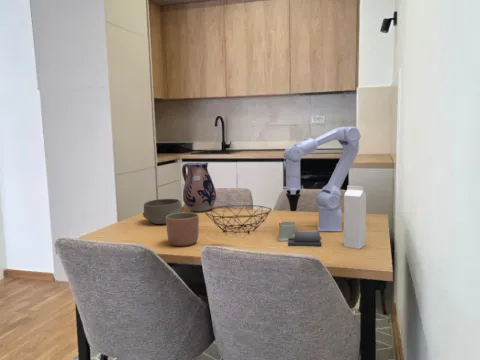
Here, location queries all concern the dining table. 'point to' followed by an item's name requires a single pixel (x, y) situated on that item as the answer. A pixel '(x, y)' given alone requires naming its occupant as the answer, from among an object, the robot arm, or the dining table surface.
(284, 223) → the white roller cradle
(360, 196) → the milk
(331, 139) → the robot arm
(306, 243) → the dark grey roller cradle
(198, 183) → the ceramic pitcher
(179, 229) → the planter
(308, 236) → the grey roller spool
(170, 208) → the bowl
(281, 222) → the long tan wooden plank
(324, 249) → the dining table surface
